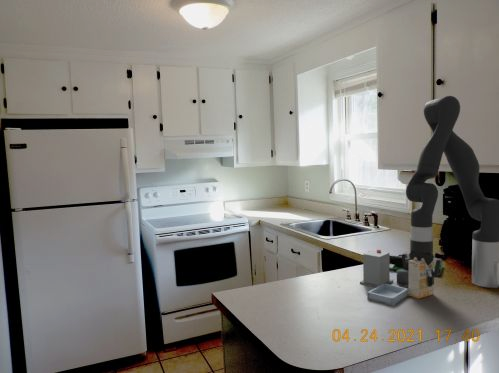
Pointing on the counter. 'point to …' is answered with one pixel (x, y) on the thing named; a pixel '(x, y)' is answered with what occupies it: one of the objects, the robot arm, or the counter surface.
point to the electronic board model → (399, 262)
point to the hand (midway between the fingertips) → (421, 284)
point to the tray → (387, 294)
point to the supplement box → (419, 279)
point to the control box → (376, 268)
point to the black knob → (402, 277)
